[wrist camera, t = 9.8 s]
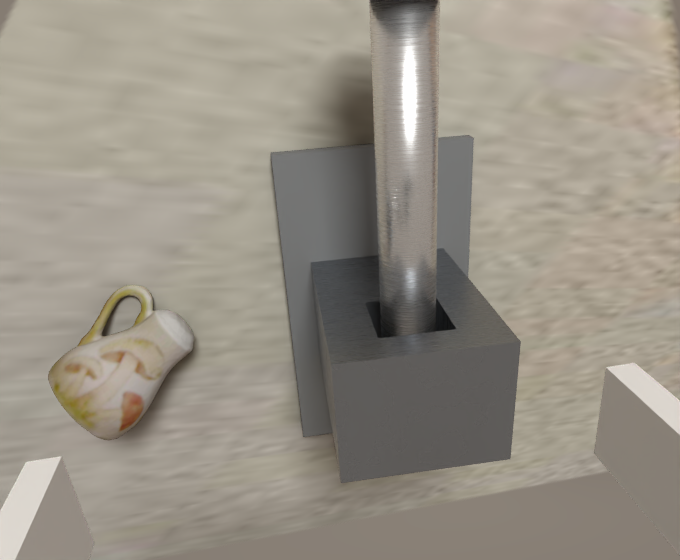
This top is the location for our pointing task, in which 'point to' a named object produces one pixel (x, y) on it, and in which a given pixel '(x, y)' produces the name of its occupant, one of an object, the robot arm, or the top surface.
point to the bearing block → (413, 375)
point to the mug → (120, 367)
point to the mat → (348, 235)
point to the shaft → (406, 160)
